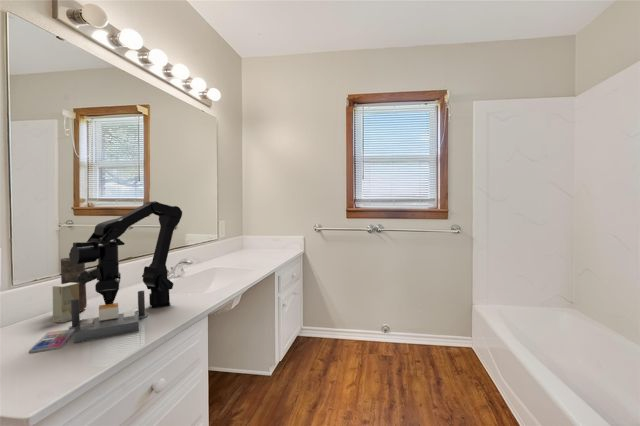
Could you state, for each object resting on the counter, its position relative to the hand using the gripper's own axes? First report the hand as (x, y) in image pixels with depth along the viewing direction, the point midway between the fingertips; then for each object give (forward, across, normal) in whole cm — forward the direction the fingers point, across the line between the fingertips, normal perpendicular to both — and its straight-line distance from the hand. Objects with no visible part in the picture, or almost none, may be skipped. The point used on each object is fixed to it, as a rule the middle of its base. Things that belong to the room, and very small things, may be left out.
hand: (109, 305), depth 109 cm
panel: (+5, +10, 0) cm, 12 cm away
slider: (+2, +8, 0) cm, 8 cm away
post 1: (+5, +2, -9) cm, 11 cm away
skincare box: (+5, -10, -13) cm, 17 cm away
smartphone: (+6, +11, -13) cm, 18 cm away
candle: (+5, -20, -12) cm, 24 cm away
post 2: (+5, +2, +9) cm, 11 cm away
